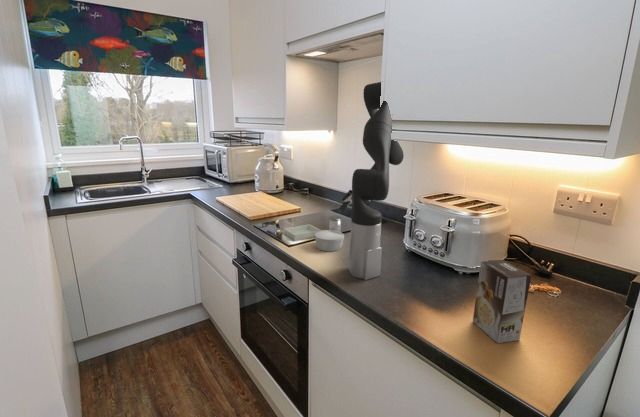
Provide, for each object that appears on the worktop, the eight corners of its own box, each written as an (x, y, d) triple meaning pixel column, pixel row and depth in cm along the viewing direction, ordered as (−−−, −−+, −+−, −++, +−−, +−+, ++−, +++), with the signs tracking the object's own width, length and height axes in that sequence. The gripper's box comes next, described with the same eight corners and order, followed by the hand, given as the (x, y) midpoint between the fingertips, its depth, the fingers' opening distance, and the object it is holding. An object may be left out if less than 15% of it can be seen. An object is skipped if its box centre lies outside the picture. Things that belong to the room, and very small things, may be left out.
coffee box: (521, 340, 78) (534, 275, 73) (497, 344, 76) (508, 278, 72) (493, 317, 86) (502, 258, 82) (470, 320, 85) (479, 260, 81)
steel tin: (343, 237, 142) (344, 218, 140) (333, 239, 140) (333, 220, 137) (336, 233, 146) (336, 215, 144) (326, 235, 144) (326, 217, 142)
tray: (321, 235, 143) (321, 230, 142) (294, 241, 136) (294, 235, 136) (309, 229, 151) (309, 224, 150) (283, 234, 144) (283, 228, 144)
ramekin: (348, 245, 134) (348, 232, 132) (337, 255, 124) (337, 241, 122) (321, 240, 138) (322, 228, 137) (309, 249, 128) (309, 236, 127)
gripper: (354, 175, 150) (332, 204, 147) (376, 180, 139) (352, 211, 136) (363, 186, 154) (341, 214, 151) (385, 192, 143) (362, 222, 140)
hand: (346, 213), depth 144 cm, fingers open, 8 cm apart
